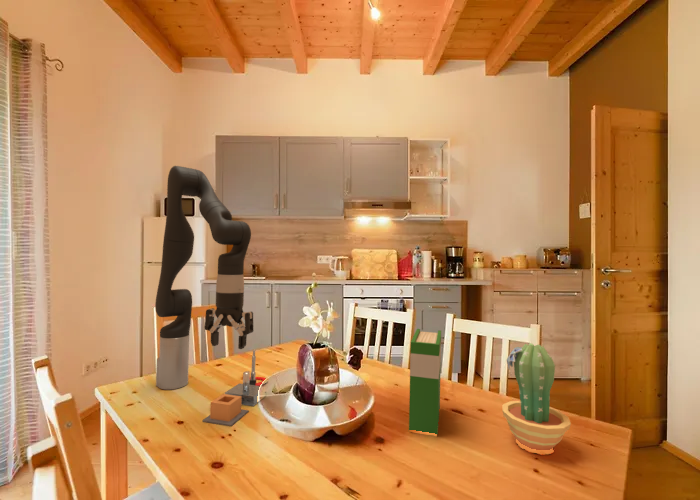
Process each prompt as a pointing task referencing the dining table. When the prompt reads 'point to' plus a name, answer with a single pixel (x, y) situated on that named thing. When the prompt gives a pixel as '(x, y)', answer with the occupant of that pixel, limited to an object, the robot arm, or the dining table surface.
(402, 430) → the dining table surface
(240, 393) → the vise block
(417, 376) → the hardback book
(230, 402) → the link
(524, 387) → the potted cactus
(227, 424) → the pad
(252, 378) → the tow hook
